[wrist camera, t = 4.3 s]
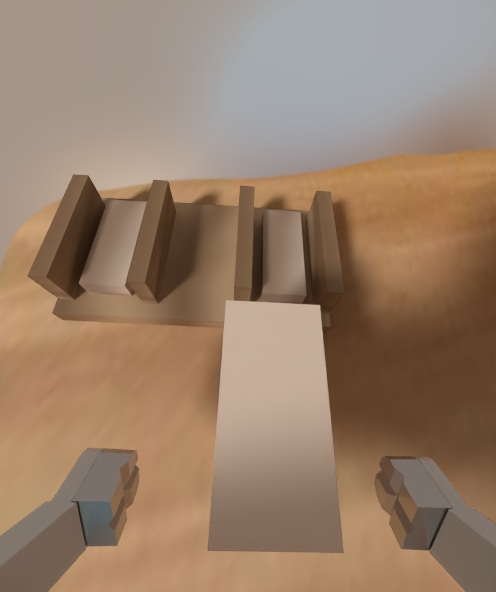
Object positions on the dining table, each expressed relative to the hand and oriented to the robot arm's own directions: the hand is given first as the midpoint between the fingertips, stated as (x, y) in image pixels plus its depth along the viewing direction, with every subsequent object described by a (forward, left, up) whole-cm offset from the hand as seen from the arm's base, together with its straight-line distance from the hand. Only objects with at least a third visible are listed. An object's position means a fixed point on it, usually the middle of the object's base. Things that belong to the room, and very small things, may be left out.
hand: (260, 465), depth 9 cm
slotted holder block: (+2, -13, -7) cm, 15 cm away
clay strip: (0, -2, -7) cm, 7 cm away
